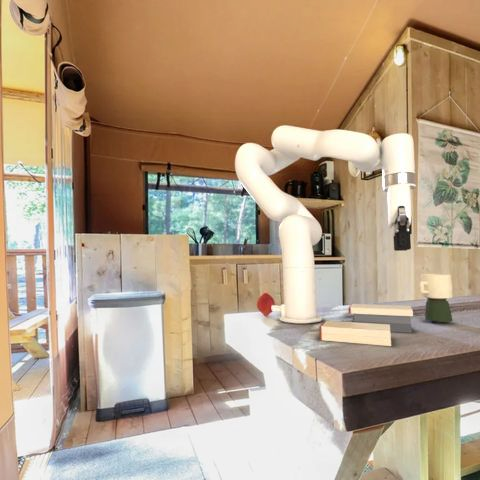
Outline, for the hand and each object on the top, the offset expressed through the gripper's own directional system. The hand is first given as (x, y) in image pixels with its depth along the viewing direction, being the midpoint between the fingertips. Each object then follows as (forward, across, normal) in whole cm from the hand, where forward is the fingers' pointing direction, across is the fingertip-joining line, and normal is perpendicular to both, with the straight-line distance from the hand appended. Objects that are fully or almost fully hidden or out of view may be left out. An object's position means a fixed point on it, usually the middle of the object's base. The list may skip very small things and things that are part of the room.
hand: (402, 250), depth 77 cm
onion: (+20, -7, -39) cm, 45 cm away
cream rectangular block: (+20, +14, -11) cm, 27 cm away
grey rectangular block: (+20, +1, -6) cm, 21 cm away
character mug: (+20, -12, +9) cm, 25 cm away
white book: (+16, +1, -6) cm, 17 cm away
